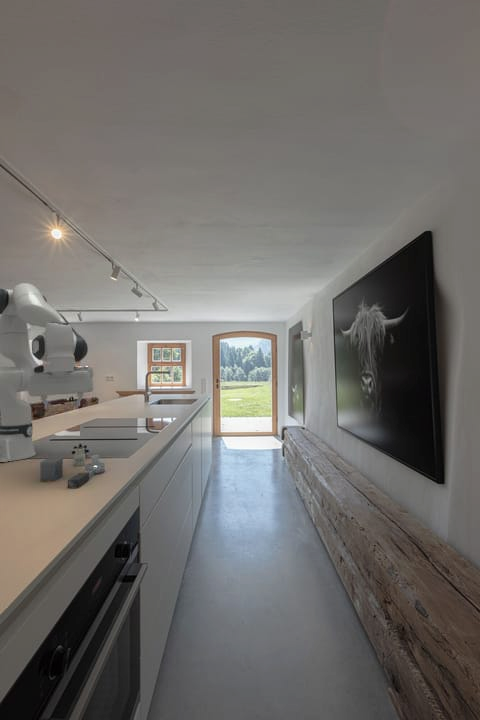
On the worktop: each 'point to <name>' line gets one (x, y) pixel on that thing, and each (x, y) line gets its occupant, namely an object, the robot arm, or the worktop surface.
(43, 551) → the worktop surface
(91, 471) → the ratchet
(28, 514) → the worktop surface
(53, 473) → the plain grey cube
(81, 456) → the valve
